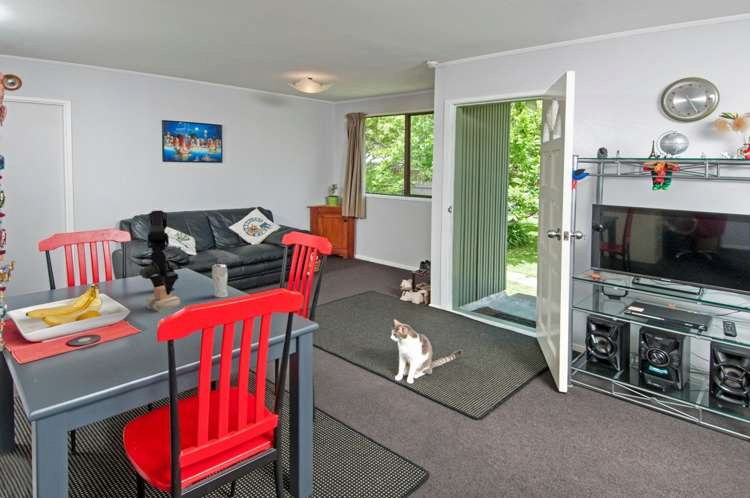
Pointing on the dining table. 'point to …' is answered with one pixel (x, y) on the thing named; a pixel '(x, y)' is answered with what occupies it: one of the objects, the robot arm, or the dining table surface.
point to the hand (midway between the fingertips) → (162, 292)
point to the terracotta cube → (161, 293)
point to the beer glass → (220, 280)
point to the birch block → (163, 303)
